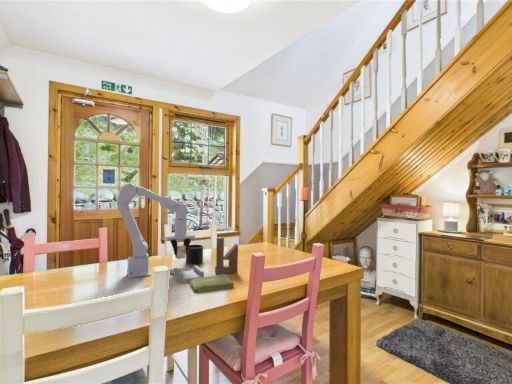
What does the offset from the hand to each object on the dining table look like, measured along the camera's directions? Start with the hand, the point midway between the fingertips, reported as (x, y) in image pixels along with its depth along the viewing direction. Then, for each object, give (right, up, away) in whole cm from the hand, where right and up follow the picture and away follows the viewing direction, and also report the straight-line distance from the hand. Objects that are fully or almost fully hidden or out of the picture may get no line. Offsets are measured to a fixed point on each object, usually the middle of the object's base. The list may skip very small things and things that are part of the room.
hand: (180, 254), depth 143 cm
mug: (+4, -9, +17) cm, 20 cm away
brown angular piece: (+23, -10, 0) cm, 25 cm away
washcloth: (+18, -10, -18) cm, 28 cm away
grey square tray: (+6, -9, -9) cm, 15 cm away
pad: (0, -9, 0) cm, 9 cm away
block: (0, -1, 0) cm, 1 cm away
